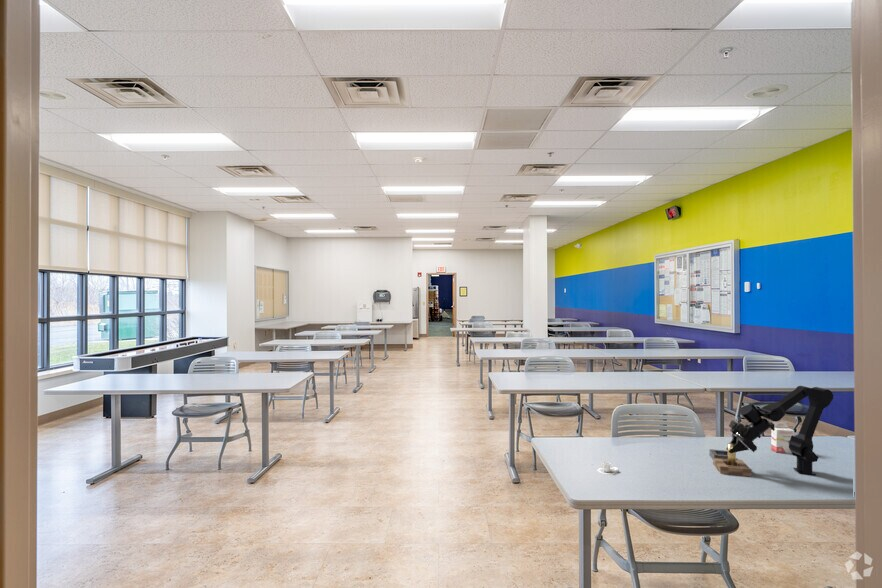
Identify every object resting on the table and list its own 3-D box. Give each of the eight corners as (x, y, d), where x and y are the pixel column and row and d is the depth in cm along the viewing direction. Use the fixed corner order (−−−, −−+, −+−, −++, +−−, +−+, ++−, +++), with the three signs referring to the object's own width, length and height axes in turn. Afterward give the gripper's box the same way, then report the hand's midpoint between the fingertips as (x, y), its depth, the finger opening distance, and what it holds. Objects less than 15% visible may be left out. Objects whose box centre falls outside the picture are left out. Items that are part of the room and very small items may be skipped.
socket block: (735, 463, 225) (735, 456, 225) (714, 461, 228) (714, 455, 228) (729, 457, 234) (729, 450, 234) (709, 455, 237) (709, 449, 237)
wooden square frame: (751, 476, 209) (751, 469, 209) (720, 473, 213) (720, 466, 213) (742, 466, 221) (742, 460, 221) (713, 464, 224) (713, 457, 224)
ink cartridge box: (776, 452, 241) (776, 423, 241) (770, 449, 246) (770, 421, 246) (794, 453, 240) (794, 424, 240) (788, 450, 245) (788, 421, 245)
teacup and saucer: (619, 471, 216) (619, 462, 216) (616, 477, 209) (616, 467, 209) (599, 467, 220) (599, 458, 220) (595, 473, 213) (595, 464, 213)
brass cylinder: (736, 469, 215) (736, 445, 215) (728, 469, 216) (728, 444, 216) (734, 467, 218) (734, 443, 218) (726, 466, 219) (726, 442, 219)
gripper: (735, 410, 225) (709, 432, 228) (748, 420, 207) (720, 443, 210) (754, 428, 222) (727, 450, 225) (769, 440, 204) (740, 463, 208)
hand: (728, 451), depth 217 cm, fingers closed on brass cylinder, 3 cm apart
